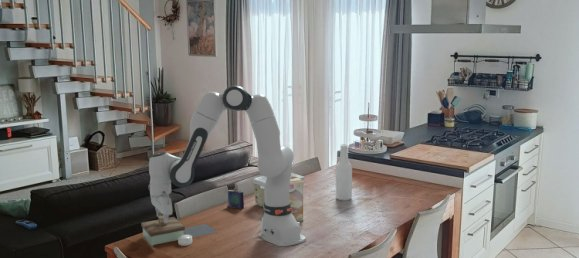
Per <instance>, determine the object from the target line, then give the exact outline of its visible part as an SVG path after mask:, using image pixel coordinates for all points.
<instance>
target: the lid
mask: <svg viewBox="0 0 579 258" xmlns="http://www.w3.org/2000/svg"><path fill="white" fill-rule="evenodd" d="M163 217H164V216H163V215H162V216H157V219H154V220H149V221H143V222H141V225H140V226H141V228H142V230H143V229H144V230H145V231H146V232H147V233H148V234H149V235H150V237H152V236H157V235H162V234H167V233H172V232H177V231H183V230H185V228H186V227H185V225H184V224H182V223H181V222H180V221H179V220H178V219H177V218H176V216H172V217H171V216H169V217H168V223H164V222H163Z"/></svg>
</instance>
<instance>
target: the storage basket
mask: <svg viewBox="0 0 579 258" xmlns="http://www.w3.org/2000/svg"><path fill="white" fill-rule="evenodd" d="M290 179H301V180H302V181H303V186H304V184H305V176H303V175H300V174H296V173H293V172H291V178H290ZM266 180H267V177H265V176H263V175H261V176H258V177H254V178H253V182H252V184H253V190H254V192H253V193H254V201H255V205H257V206H259V207H262V208H264V203H265V192H264V187H265V183H266Z"/></svg>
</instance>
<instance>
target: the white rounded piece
mask: <svg viewBox="0 0 579 258" xmlns="http://www.w3.org/2000/svg"><path fill="white" fill-rule="evenodd" d="M177 243H178V245H179V246H182V247H184V246H189V245H192V244H193V237H192V236H191V235H186V234H184V235H181V236H179V237H178V240H177Z"/></svg>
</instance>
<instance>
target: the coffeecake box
mask: <svg viewBox="0 0 579 258" xmlns="http://www.w3.org/2000/svg"><path fill="white" fill-rule="evenodd" d="M289 202H290V205H291V208H292V209H291V210H292V214H293V216H294V217H295V219H296V221H297V222H302V221H304V185H303V181H302V180H301V179H292V178H291V179H290V185H289Z"/></svg>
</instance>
